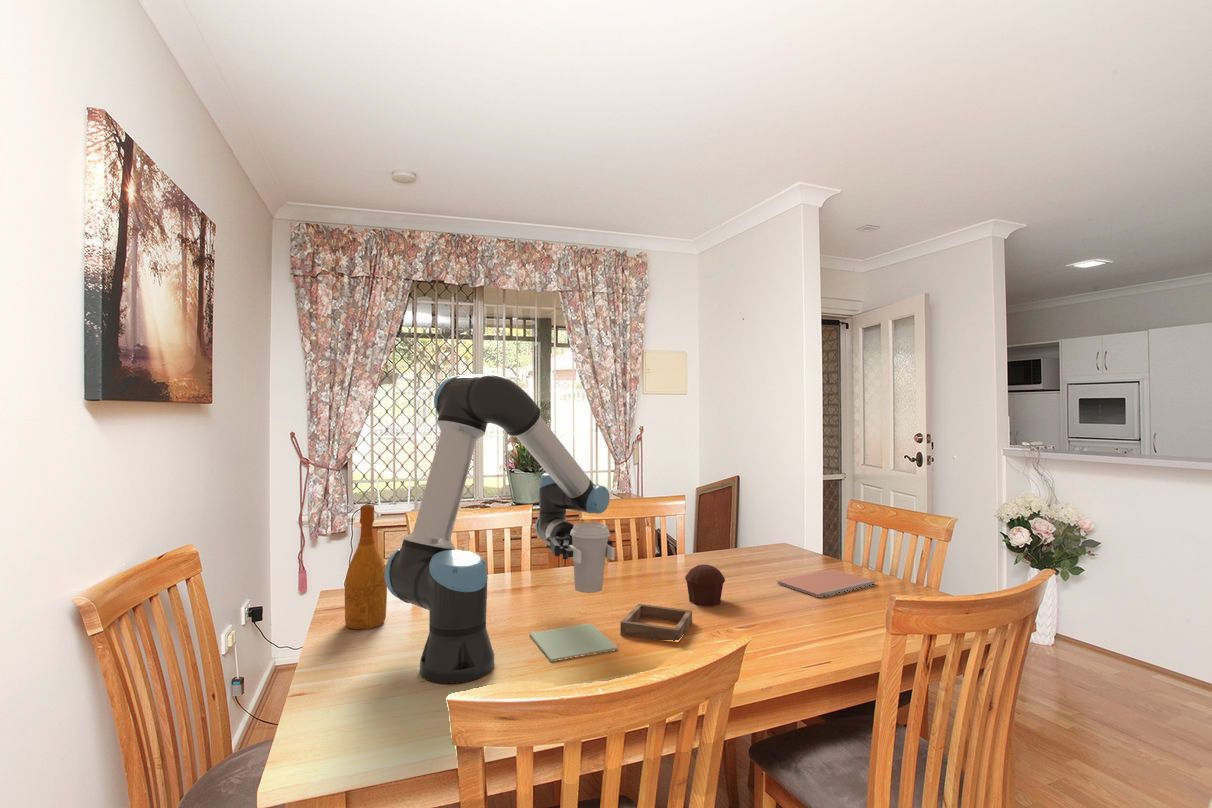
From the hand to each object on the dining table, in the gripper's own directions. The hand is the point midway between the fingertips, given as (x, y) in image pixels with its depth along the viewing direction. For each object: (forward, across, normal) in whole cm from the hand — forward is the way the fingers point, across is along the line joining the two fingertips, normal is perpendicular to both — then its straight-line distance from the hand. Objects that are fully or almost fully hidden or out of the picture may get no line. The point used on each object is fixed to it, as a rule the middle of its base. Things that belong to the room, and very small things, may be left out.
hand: (596, 555), depth 133 cm
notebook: (-16, -86, -21) cm, 90 cm away
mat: (-4, +4, -21) cm, 22 cm away
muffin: (-18, -41, -21) cm, 49 cm away
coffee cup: (-5, 0, -9) cm, 10 cm away
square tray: (-5, -19, -21) cm, 28 cm away
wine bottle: (-35, +48, -21) cm, 63 cm away
